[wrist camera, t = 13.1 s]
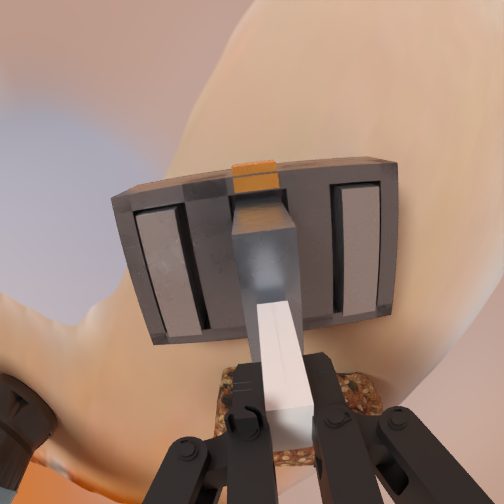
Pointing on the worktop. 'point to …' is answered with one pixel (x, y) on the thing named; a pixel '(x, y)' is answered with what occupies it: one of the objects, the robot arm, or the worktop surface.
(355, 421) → the robot arm
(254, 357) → the block
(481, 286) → the worktop surface
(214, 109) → the worktop surface
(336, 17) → the worktop surface
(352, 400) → the bread
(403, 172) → the worktop surface
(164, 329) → the rack
